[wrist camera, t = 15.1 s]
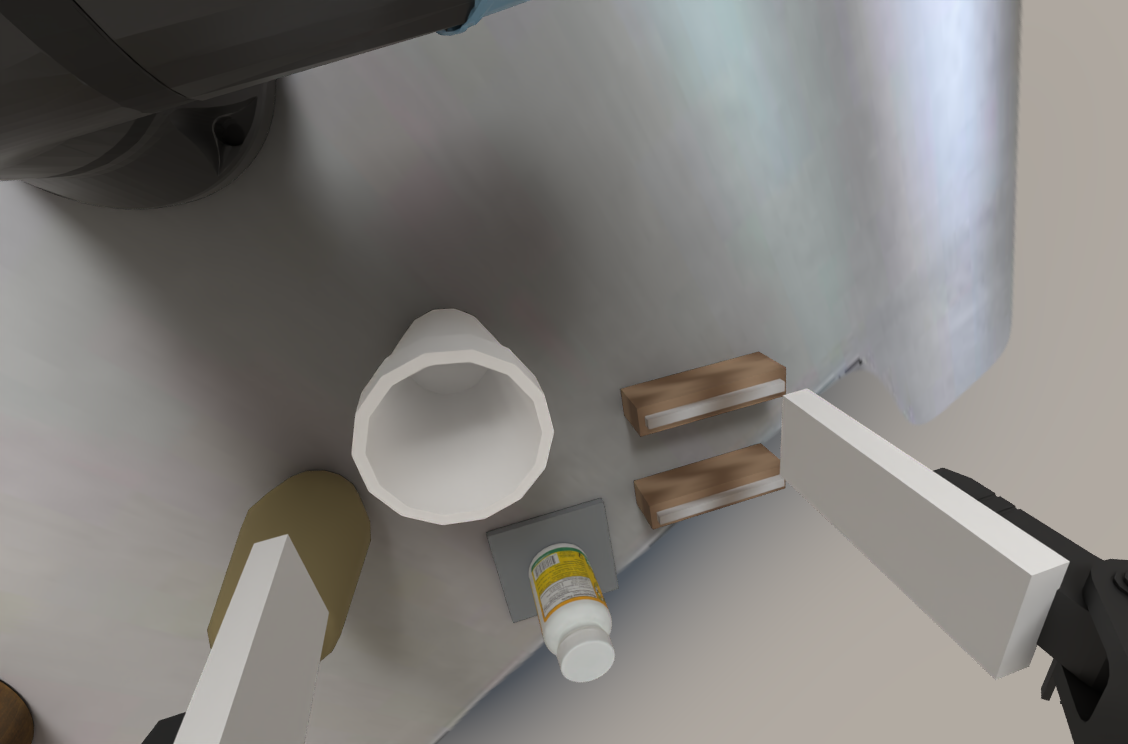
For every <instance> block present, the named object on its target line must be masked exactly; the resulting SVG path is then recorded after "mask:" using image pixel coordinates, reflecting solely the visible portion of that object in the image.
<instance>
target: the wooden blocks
mask: <svg viewBox="0 0 1128 744" xmlns="http://www.w3.org/2000/svg"><path fill="white" fill-rule="evenodd" d="M783 395H786V367H784V366H782V365H781V364H779V363H777V362H776V361H774V360H772V359H770V358H769V357H767V356H765V355H764V354H762V353H760V352H756V353H752V354H748V355H745V356H741V357H737V358H733V359H730V360H726V361H722V362H719V363H715V364H711V365H707V366H704V367H700V368H696V369H692V370H689V371H685V372H681V373H678V374H674V375H670V376H666V377H663V378H659V379H655V380H651V381H648V382H644V383H640V384H637V385H633V386H629V387H625V388H622V389H621V396H622V403H623V410H624V416H625V417H626V418H627V420H628V421H629V422H630V423H631V425H632V426H633V427H634V429H635V430H636V431H637V433H638V434H639V435H640V437H641V436H645V435H648V434H652V433H655V432H659V431H663V430H666V429H670V428H673V427H677V426H680V425H684V424H687V423H691V422H694V421H698V420H701V419H705V418H708V417H712V416H715V415H719V414H722V413H726V412H729V411H733V410H736V409H740V408H743V407H747V406H750V405H754V404H757V403H761V402H764V401H768V400H772V399H775V398H779V397H782V396H783ZM634 487H635V494H636V501H637V504H638V506H639V508H640V509H641V511H642V513H643V514H644V516H645V518H646V519H647V521H648V523H649V524H650V526H651V528H652V529H656V528H659V527H663V526H666V525H669V524H672V523H675V522H679V521H682V520H685V519H688V518H691V517H694V516H698V515H701V514H704V513H707V512H711V511H714V510H717V509H720V508H723V507H726V506H730V505H733V504H736V503H739V502H742V501H745V500H749V499H752V498H755V497H758V496H762V495H765V494H768V493H771V492H774V491H778V490H781V489H784V488H785V479H784V478H782V477H781V476H780V459H778V458H777V457H776V456H775V455H774V454H772V453H771V452H770V451H769V450H768V449H767V448H766V447H764V446H763V445H762V444H761V443H760V444H756V445H753V446H750V447H746V448H743V449H739V450H736V451H733V452H729V453H726V454H723V455H719V456H716V457H712V458H709V459H706V460H702V461H699V462H696V463H692V464H689V465H686V466H682V467H679V468H675V469H672V470H669V471H665V472H662V473H659V474H655V475H652V476H649V477H645V478H642V479H638V480H635V481H634Z"/></svg>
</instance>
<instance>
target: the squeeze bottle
mask: <svg viewBox="0 0 1128 744" xmlns="http://www.w3.org/2000/svg"><path fill="white" fill-rule="evenodd" d="M286 534H288V535H289V537H290V539H291V541H292V543H293V545H294V547H295V549H296V550H297V552H298V554H299V556H300V558H301V560H302V562H303V564H304V566H305V568H306V570H307V572H308V573H309V575H310V577H311V579H312V581H313V583H314V585H315V587H316V589H317V591H318V593H319V595H320V596H321V598H322V600H323V602H324V604H325V606H326V608H327V610H328V612H329V615H328V621H327V626H326V631H325V636H324V642H323V647H322V652H321V658H320V661H321V660H323V659H324V658H325V657H326V656H327V655H328V654H330V653H331V652H332V651H333V649H334V647H335V645H336V643H337V641H338V639H339V637H340V635H341V632H342V629H343V626H344V623H345V620H346V617H347V614H348V610H349V607H350V604H351V601H352V598H353V595H354V591H355V588H356V585H357V582H358V579H359V576H360V573H361V569H362V566H363V563H364V560H365V557H366V554H367V550H368V547H369V544H370V541H371V534H370V520H369V518H368V515H367V513H366V510H365V508H364V506H363V503H362V501H361V498H360V496H359V494H358V492H357V491H356V489H355V487H354V486H353V484H352V483H350V482H349V481H348V480H346V479H345V478H344V477H342V476H341V475H338V474H335V473H332V472H328V471H325V470H319V471H305V472H302V473H300V474H297V475H294V476H291V477H290V478H288V479H287V480H285V481H284V482H283V483H281V484H280V485H278V486H277V487H276V488H274V489H273V490H271V491H270V492H269V493H267V494H266V495H265V496H264V497H263V498H261V499H260V500H259V501H258V502H257V503H256V504H255V505H253V506H252V507H251V508H250V509H249V510H248V513H247V515H246V517H245V520H244V522H243V525H242V527H241V529H240V533H239V536H238V539H237V542H236V545H235V548H234V551H233V554H232V557H231V560H230V563H229V566H228V569H227V572H226V575H225V578H224V581H223V584H222V587H221V590H220V593H219V596H218V599H217V602H216V605H215V608H214V611H213V614H212V617H211V620H210V623H209V626H208V629H207V632H208V637H209V643H210V648H211V649H212V647H213V644H214V642H215V639H216V637H217V634H218V632H219V629H220V627H221V624H222V622H223V619H224V617H225V614H226V612H227V609H228V607H229V604H230V602H231V599H232V597H233V594H234V592H235V589H236V587H237V584H238V582H239V579H240V577H241V574H242V572H243V569H244V567H245V565H246V562H247V560H248V557H249V555H250V552H251V550H252V547H253V545H254V543H257V542H261V541H265V540H268V539H272V538H275V537H279V536H282V535H286Z"/></svg>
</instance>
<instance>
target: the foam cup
mask: <svg viewBox="0 0 1128 744" xmlns="http://www.w3.org/2000/svg"><path fill="white" fill-rule="evenodd" d="M553 434H554V429H553V425H552V421H551V418H550V414H549V410H548V406H547V403H546V399H545V395H544V393H543V391H542V389H541V387H540V385H539V383H538V381H537V379H536V377H535V375H534V374H533V373H532V372H531V371H530V370H529V369H528V368H527V367H526V366H525V365H524V364H523V363H522V362H521V361H520V360H519V359H518V357H517V356H516V355H515V354H514V353H513V352H512V351H511V350H510V349H509V348H507V347H504V346H502V345H501V344H500V343H499V342H498V341H497V340H496V339H495V337H494V336H493V335H492V334H491V333H490V332H489V331H488V330H487V329H486V328H485V327H484V326H483V325H482V324H481V323H480V322H479V321H478V319H477V318H476V317H474V316H473V315H470V314H468V313H465V312H462V311H460V310H457V309H455V308H454V309H438V310H432V311H430V312H428V313H426V314H424V315H423V316H421V317H419V318H417V319H415V320H414V321H413V323H412V324H411V325H410V327H409V328H408V330H407V331H406V333H405V334H404V335H403V337H402V338H401V340H400V341H399V343H398V344H397V346H396V347H395V349H394V351H393V352H392V354H391V355H390V356H388V357H387V358H385V359H384V361H383V362H382V364H381V365H380V367H379V368H378V369H377V371H376V372H375V374H374V375H373V377H372V378H371V379H370V381H369V382H368V384H367V385H366V387H365V388H364V389H363V391H362V392H361V396H360V399H359V403H358V406H357V410H356V413H355V423H354V433H353V443H352V453H351V455H352V457H353V460H354V462H355V464H356V466H357V468H358V470H359V472H360V474H361V476H362V479H363V481H364V483H365V485H366V487H367V489H368V491H369V492H370V493H371V494H373V495H374V496H375V497H377V498H378V499H379V500H381V501H382V502H383V503H385V504H386V505H388V506H389V507H390V508H392V509H393V510H394V511H396V512H397V513H398V514H400V515H401V516H404V517H408V518H413V519H417V520H422V521H426V522H431V523H435V524H440V525H448V524H455V523H461V522H468V521H475V520H481V519H486V518H488V517H489V516H491V515H493V514H495V513H496V512H498V511H500V510H502V509H504V508H505V507H507V506H509V505H511V504H513V503H514V502H516V501H518V500H520V499H521V498H522V497H523V496H524V494H525V493H526V492H527V491H528V489H529V488H530V487H531V486H532V484H533V483H534V482H535V481H536V479H537V478H538V477H539V476H540V474H541V473H542V472H543V471H544V469H545V468H546V464H547V460H548V456H549V451H550V447H551V443H552V439H553Z"/></svg>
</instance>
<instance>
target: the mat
mask: <svg viewBox="0 0 1128 744" xmlns="http://www.w3.org/2000/svg"><path fill="white" fill-rule="evenodd" d="M486 533H487V538H488V542H489V545H490V548H491V552H492V555H493V558H494V562H495V565H496V568H497V572H498V575H499V578H500V582H501V585H502V588H503V592H504V595H505V598H506V602H507V605H508V608H509V612H510V615H511V618H512V622H513V623H515V622H518V621H521V620H524V619H527V618H530V617H533V616H536V615H538V613H537V609H536V605H535V601H534V597H533V593H532V588H531V585H530V580H529V567H530V564H531V562H532V560H533V559H534V557H535V556H536V555H537V554H538V553H539V552H540V551H541V550H543V549H544V548H546V547H548V546H551V545H554V544H558V543H569V544H574V545H576V546H577V547H579V548H581V549H582V550H583V552H584V553H585V554H586V556H587V558H588V560H589V562H590V565H591V567H592V570H593V572H594V575H595V577H596V580H597V582H598V585H599V587H600V590H601V592H602V594H603V593H607V592H610V591H613V590H615V589H618V588H619V587H618V581H617V576H616V570H615V564H614V558H613V553H612V547H611V541H610V536H609V530H608V524H607V518H606V513H605V507H604V502H603V500H602V498H600V499H596V500H593V501H590V502H586V503H583V504H579V505H576V506H573V507H569V508H566V509H563V510H559V511H556V512H553V513H549V514H546V515H543V516H539V517H536V518H533V519H529V520H526V521H523V522H519V523H516V524H513V525H509V526H506V527H503V528H499V529H496V530H493V531H489V532H486Z"/></svg>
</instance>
